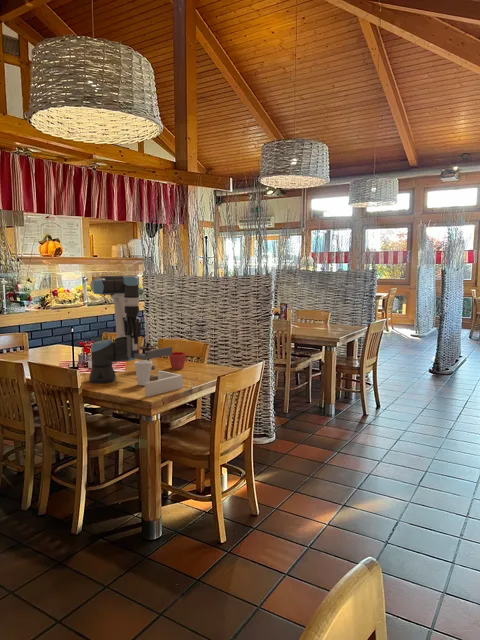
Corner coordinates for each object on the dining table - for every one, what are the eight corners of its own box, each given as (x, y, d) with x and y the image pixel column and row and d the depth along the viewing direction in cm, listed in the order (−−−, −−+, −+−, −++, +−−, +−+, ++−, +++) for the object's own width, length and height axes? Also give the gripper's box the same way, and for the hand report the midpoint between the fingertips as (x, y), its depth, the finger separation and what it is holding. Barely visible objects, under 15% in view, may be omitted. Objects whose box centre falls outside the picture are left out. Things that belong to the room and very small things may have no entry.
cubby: (125, 390, 255) (124, 378, 254) (160, 382, 274) (160, 370, 273) (147, 396, 243) (147, 383, 242) (182, 387, 262) (182, 375, 261)
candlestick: (143, 371, 304) (141, 316, 300) (137, 368, 313) (136, 315, 309) (159, 369, 309) (158, 315, 305) (153, 366, 318) (152, 314, 315)
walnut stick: (162, 381, 278) (162, 376, 278) (159, 382, 276) (159, 377, 275) (140, 378, 286) (140, 373, 285) (137, 379, 283) (137, 374, 283)
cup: (144, 382, 275) (144, 359, 274) (156, 384, 268) (156, 362, 267) (130, 384, 267) (130, 361, 266) (141, 387, 261) (141, 364, 260)
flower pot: (183, 369, 307) (183, 355, 306) (167, 369, 309) (166, 354, 308) (187, 366, 318) (187, 352, 317) (172, 366, 319) (171, 351, 318)
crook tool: (125, 357, 253) (125, 335, 252) (156, 351, 268) (155, 330, 267) (142, 360, 244) (141, 337, 242) (172, 354, 259) (171, 332, 258)
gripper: (116, 305, 252) (118, 348, 255) (135, 306, 242) (136, 352, 244) (128, 304, 258) (129, 347, 260) (147, 305, 248) (148, 350, 250)
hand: (132, 349), depth 252 cm, fingers closed on crook tool, 3 cm apart
